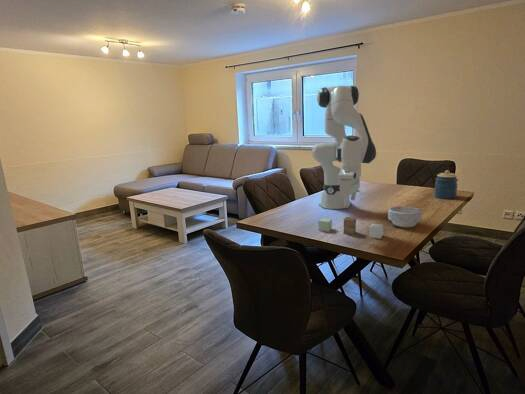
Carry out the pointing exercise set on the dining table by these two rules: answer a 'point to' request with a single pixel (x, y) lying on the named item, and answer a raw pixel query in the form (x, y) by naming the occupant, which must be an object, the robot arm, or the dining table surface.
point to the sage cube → (325, 224)
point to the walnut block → (349, 225)
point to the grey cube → (376, 231)
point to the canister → (446, 185)
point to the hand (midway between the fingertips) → (350, 202)
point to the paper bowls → (404, 216)
